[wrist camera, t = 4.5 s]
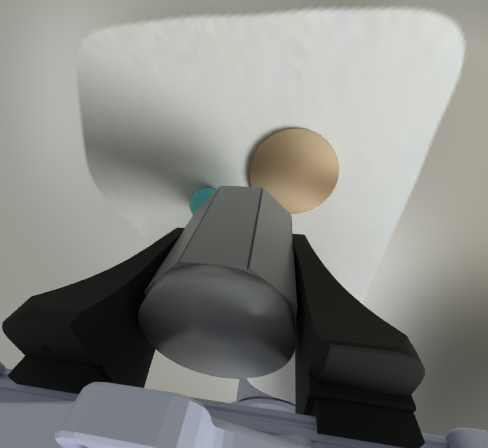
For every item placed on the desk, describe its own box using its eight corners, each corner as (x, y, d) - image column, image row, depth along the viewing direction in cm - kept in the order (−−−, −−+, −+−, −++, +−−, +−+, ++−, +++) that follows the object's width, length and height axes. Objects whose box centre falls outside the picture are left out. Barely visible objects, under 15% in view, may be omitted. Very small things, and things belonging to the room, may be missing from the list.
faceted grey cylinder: (286, 267, 15) (289, 386, 9) (203, 261, 16) (158, 368, 10) (293, 188, 12) (304, 291, 6) (191, 185, 13) (116, 275, 7)
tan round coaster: (329, 213, 20) (330, 216, 20) (250, 209, 21) (249, 211, 21) (346, 128, 17) (348, 129, 16) (249, 128, 17) (249, 129, 17)
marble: (229, 212, 22) (222, 230, 19) (198, 211, 22) (187, 228, 20) (227, 182, 20) (219, 197, 18) (194, 181, 21) (182, 196, 18)
